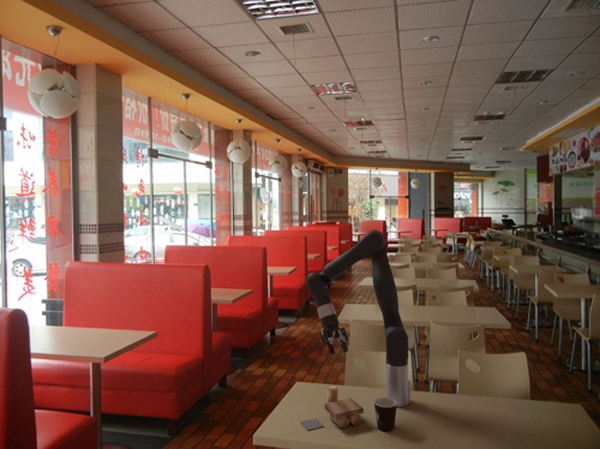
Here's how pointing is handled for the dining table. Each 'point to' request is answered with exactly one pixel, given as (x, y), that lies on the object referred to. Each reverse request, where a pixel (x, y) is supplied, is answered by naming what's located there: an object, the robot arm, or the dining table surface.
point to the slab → (344, 412)
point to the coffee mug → (385, 413)
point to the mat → (312, 424)
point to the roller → (332, 394)
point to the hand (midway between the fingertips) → (339, 353)
